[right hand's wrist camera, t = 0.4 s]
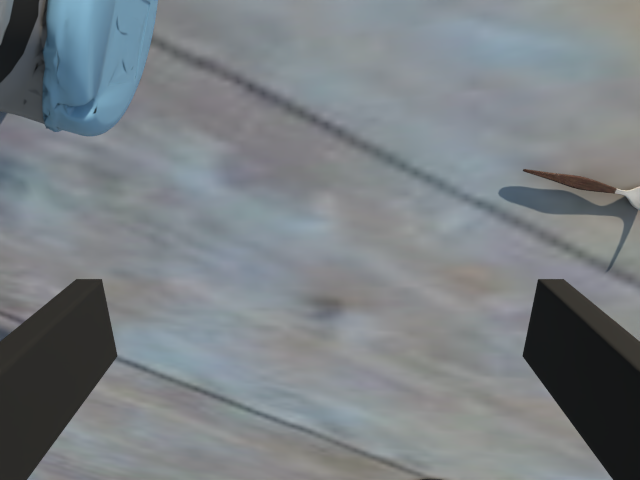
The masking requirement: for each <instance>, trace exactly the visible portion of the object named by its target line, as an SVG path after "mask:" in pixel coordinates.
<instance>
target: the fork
mask: <svg viewBox="0 0 640 480" xmlns="http://www.w3.org/2000/svg"><path fill="white" fill-rule="evenodd" d="M523 171H524V172H527V173H531V174H534V175H537V176H540V177H543V178H546V179H549V180H552V181H555V182H558V183H561V184H564V185H567V186H570V187H573V188H576V189H581V190H588V191H596V192H606V193H615V194H621V195H624V196H625V197H626V198H627V199H628V200H629V202H630V203H631V205H632V206H633V207H634V208H636V209H638V210H640V186H639V187H636V188H634V189H631V190H627V191H624V190H620V189H617V188H614V187H611V186H608V185H606V184H603V183H600V182H597V181H595V180H592V179H588V178H585V177H580V176H574V175H565V174H556V173H548V172H541V171H534V170H527V169H524V170H523Z"/></svg>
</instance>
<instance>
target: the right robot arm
mask: <svg viewBox="0 0 640 480" xmlns="http://www.w3.org/2000/svg"><path fill="white" fill-rule="evenodd" d="M116 357H117V352H116V347H115V342H114V337H113V332H112V327H111V322H110V317H109V312H108V307H107V302H106V297H105V293H104V288H103V283H102V279H76V280H75V281H74V282H72V283H71V284H70V285H69V286H68V287H66V288H65V289H64V290H63V291H61V292H60V293H59V294H58V295H57V296H55V297H54V298H53V299H52V300H50V301H49V302H48V303H47V304H46V305H44V306H43V307H42V308H41V309H40V310H38V311H37V312H36V313H35V314H33V315H32V316H31V317H30V318H29V319H27V320H26V321H25V322H24V323H22V324H21V325H20V326H19V327H18V328H16V329H15V330H14V331H13V332H11V333H10V334H9V335H8V336H7V337H5V338H4V339H3V340H2V341H0V480H27V479H28V477H29V476H30V475H31V473H32V472H33V471H34V469H35V468H36V466H37V465H38V464H39V462H40V461H41V460H42V458H43V457H44V456H45V454H46V453H47V451H48V450H49V449H50V447H51V446H52V445H53V443H54V442H55V441H56V439H57V438H58V436H59V435H60V434H61V432H62V431H63V430H64V428H65V427H66V426H67V424H68V423H69V421H70V420H71V419H72V417H73V416H74V415H75V413H76V412H77V411H78V409H79V408H80V406H81V405H82V404H83V402H84V401H85V400H86V398H87V397H88V396H89V394H90V393H91V391H92V390H93V389H94V387H95V386H96V385H97V383H98V382H99V381H100V379H101V378H102V376H103V375H104V374H105V372H106V371H107V370H108V368H109V367H110V365H111V364H112V363H113V361H114V360H115V359H116ZM523 357H524V359H525V360H526V361H527V363H528V364H529V365H530V367H531V368H532V370H533V371H534V372H535V374H536V375H537V376H538V378H539V379H540V381H541V382H542V383H543V385H544V386H545V387H546V389H547V390H548V391H549V393H550V394H551V396H552V397H553V398H554V400H555V401H556V402H557V404H558V405H559V406H560V408H561V409H562V411H563V412H564V413H565V415H566V416H567V417H568V419H569V420H570V421H571V423H572V424H573V426H574V427H575V428H576V430H577V431H578V432H579V434H580V435H581V436H582V438H583V439H584V441H585V442H586V443H587V445H588V446H589V447H590V449H591V450H592V451H593V453H594V454H595V456H596V457H597V458H598V460H599V461H600V462H601V464H602V465H603V466H604V468H605V469H606V471H607V472H608V473H609V475H610V476H611V477H612V479H613V480H640V341H638V340H637V339H636V338H635V337H633V336H632V335H631V334H630V333H629V332H627V331H626V330H625V329H624V328H622V327H621V326H620V325H619V324H618V323H616V322H615V321H614V320H613V319H611V318H610V317H609V316H608V315H607V314H605V313H604V312H603V311H602V310H600V309H599V308H598V307H597V306H596V305H594V304H593V303H592V302H591V301H590V300H588V299H587V298H586V297H585V296H583V295H582V294H581V293H580V292H579V291H577V290H576V289H575V288H574V287H572V286H571V285H570V284H569V283H568V282H566V281H565V280H564V279H538V283H537V288H536V293H535V297H534V302H533V307H532V312H531V317H530V322H529V327H528V332H527V337H526V342H525V347H524V352H523ZM422 480H440V479H422Z"/></svg>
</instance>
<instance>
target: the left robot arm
mask: <svg viewBox="0 0 640 480" xmlns="http://www.w3.org/2000/svg"><path fill="white" fill-rule="evenodd" d="M157 3H158V0H0V111H1V112H6V113H11V114H15V115H19V116H22V117H25V118H28V119H31V120H34V121H37V122H40V123H43V124H45V126H46V128H49V129H50V130H52V131H54V132H59V131H61V130H64V131H68V132H72V133H75V134H79V135H83V136H96V135H100V134H103V133H105V132H107V131H108V130H109V129H111V128H112V127H113V126H114V125H115V124H116V123H117V122H118V121H119V120H120V119H121V117H122V116H123V114H124V113H125V111H126V110H127V108H128V106H129V104H130V102H131V100H132V98H133V96H134V94H135V91H136V89H137V87H138V84H139V82H140V79H141V76H142V73H143V70H144V67H145V63H146V60H147V56H148V52H149V48H150V44H151V39H152V34H153V29H154V24H155V18H156V11H157Z"/></svg>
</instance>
